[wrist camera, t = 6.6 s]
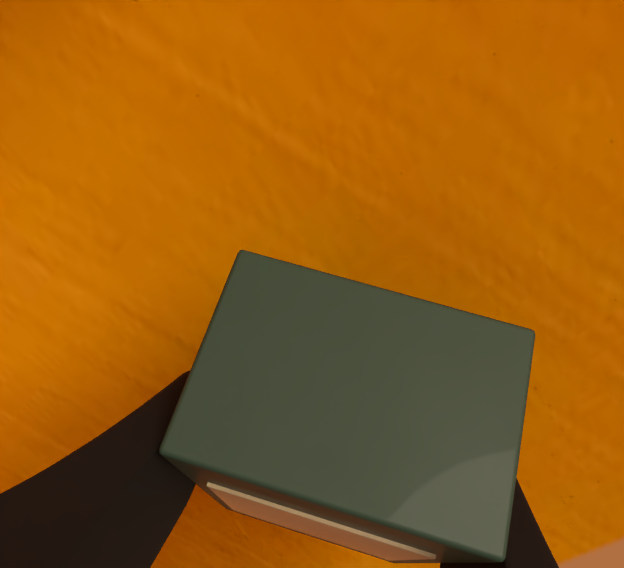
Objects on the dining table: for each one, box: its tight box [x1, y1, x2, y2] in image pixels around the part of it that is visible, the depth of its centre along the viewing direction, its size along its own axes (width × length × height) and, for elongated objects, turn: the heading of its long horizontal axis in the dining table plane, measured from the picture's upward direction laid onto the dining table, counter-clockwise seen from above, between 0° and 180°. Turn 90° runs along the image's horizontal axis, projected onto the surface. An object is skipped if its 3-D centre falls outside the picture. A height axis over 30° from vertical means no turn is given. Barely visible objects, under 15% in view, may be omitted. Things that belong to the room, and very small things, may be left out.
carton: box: [159, 250, 535, 563], centre depth 13 cm, size 9×5×4 cm
